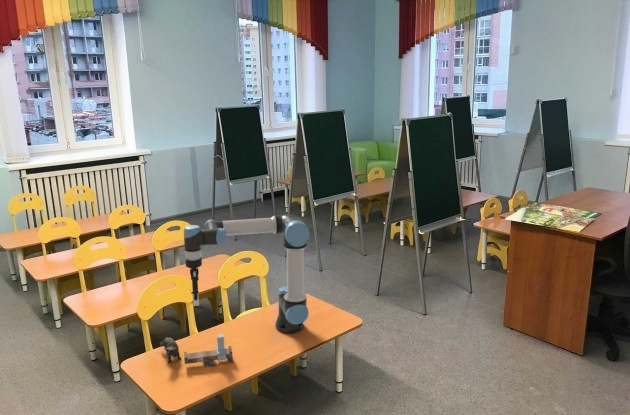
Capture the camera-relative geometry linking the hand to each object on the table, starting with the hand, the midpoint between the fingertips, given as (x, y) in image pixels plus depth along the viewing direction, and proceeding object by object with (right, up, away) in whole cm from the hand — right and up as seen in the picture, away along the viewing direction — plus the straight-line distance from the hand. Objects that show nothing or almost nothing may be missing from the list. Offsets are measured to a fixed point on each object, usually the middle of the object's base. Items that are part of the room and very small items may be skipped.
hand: (195, 299), depth 241 cm
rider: (+13, -26, -3) cm, 30 cm away
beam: (+7, -30, -4) cm, 31 cm away
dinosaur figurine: (-12, -29, +1) cm, 31 cm away
